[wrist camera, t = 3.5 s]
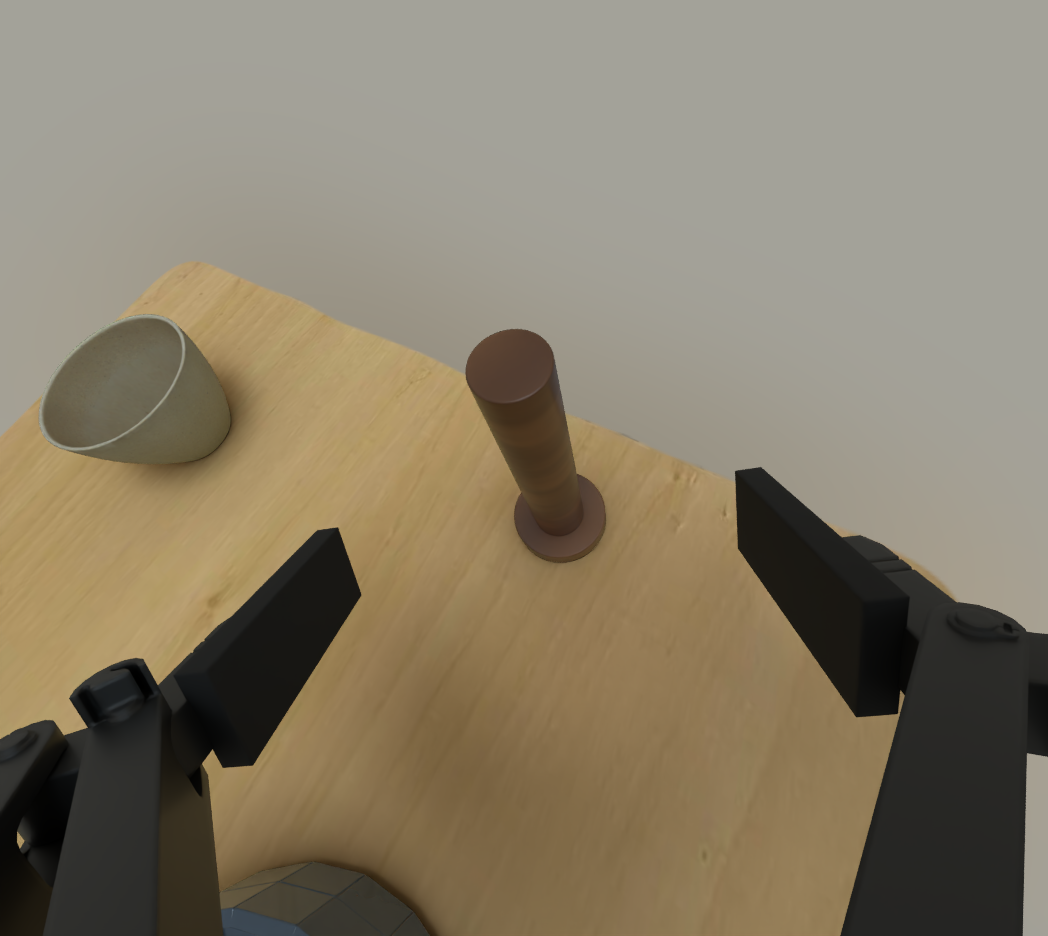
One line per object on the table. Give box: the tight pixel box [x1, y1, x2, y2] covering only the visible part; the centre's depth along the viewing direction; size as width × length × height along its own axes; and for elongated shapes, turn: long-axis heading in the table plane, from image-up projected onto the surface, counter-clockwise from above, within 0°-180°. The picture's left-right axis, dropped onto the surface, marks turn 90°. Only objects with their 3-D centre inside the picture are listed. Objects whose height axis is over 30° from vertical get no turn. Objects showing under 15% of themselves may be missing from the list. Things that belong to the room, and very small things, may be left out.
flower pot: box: [39, 314, 231, 464], centre depth 33 cm, size 10×10×7 cm
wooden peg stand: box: [466, 329, 606, 562], centre depth 22 cm, size 5×5×15 cm
